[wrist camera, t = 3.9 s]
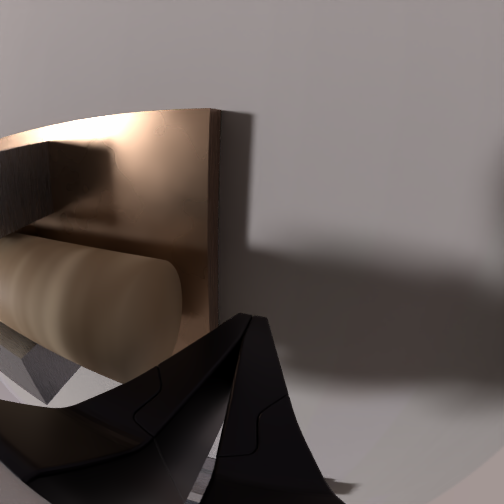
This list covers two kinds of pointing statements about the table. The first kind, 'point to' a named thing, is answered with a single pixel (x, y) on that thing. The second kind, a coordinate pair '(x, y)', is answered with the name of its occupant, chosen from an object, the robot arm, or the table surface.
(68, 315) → the wooden axle
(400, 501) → the table surface
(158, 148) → the brown board with blocks
